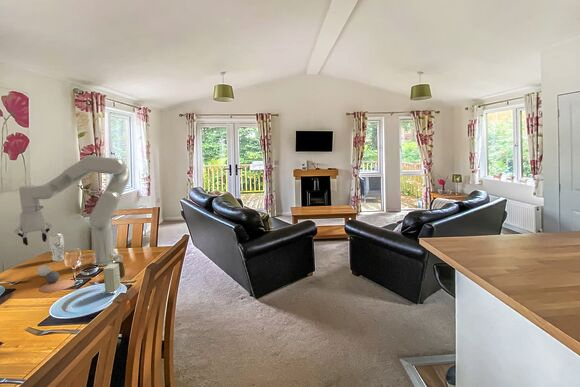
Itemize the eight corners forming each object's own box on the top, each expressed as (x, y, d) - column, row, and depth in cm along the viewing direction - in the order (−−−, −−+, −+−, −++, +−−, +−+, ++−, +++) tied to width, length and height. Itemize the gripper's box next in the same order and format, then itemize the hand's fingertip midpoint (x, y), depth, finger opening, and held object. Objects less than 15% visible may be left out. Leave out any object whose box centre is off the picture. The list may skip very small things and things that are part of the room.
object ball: (61, 279, 166) (60, 269, 165) (57, 284, 161) (56, 273, 160) (49, 281, 165) (47, 270, 164) (44, 285, 159) (42, 274, 159)
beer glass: (58, 262, 193) (55, 236, 190) (48, 261, 194) (45, 236, 192) (68, 258, 199) (66, 233, 197) (58, 257, 201) (56, 233, 199)
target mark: (79, 278, 167) (79, 278, 167) (69, 290, 154) (69, 289, 154) (47, 282, 163) (46, 281, 163) (33, 294, 150) (33, 293, 150)
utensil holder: (122, 278, 166) (120, 255, 164) (109, 279, 165) (106, 255, 164) (127, 274, 172) (125, 251, 170) (114, 274, 171) (112, 252, 170)
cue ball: (53, 273, 175) (51, 263, 174) (48, 277, 170) (47, 266, 169) (40, 274, 173) (39, 264, 173) (35, 278, 168) (34, 268, 167)
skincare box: (111, 289, 154) (109, 263, 152) (121, 288, 154) (119, 263, 153) (105, 295, 148) (102, 268, 146) (115, 294, 148) (113, 268, 146)
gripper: (48, 206, 182) (52, 238, 184) (7, 211, 169) (12, 245, 171) (53, 207, 177) (57, 240, 180) (11, 213, 164) (16, 248, 166)
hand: (35, 242), depth 175 cm, fingers open, 7 cm apart
